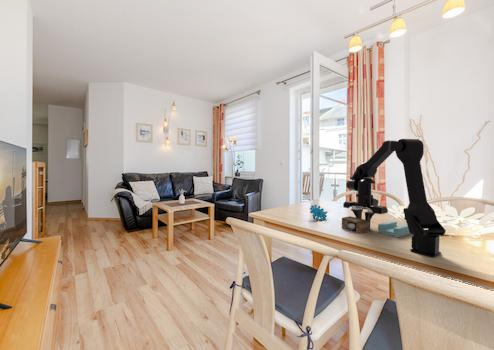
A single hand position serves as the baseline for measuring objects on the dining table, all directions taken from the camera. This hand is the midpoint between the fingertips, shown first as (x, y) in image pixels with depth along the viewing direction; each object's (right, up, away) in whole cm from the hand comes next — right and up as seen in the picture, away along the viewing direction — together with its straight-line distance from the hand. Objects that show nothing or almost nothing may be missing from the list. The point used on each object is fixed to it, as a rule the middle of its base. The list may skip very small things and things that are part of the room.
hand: (363, 225), depth 106 cm
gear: (-16, -1, +16) cm, 23 cm away
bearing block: (-5, -1, -3) cm, 6 cm away
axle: (-4, -1, -2) cm, 4 cm away
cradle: (+9, -1, -8) cm, 13 cm away
